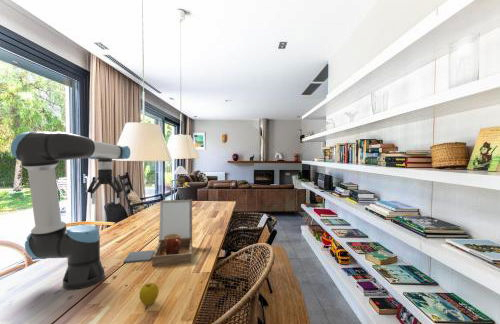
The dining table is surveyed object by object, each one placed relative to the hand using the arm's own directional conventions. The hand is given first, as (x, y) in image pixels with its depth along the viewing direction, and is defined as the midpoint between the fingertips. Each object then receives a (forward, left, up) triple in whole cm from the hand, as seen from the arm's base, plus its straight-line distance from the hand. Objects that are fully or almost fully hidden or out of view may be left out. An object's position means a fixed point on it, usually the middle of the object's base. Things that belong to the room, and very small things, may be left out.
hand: (105, 203), depth 148 cm
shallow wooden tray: (-25, -42, -26) cm, 55 cm away
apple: (-70, -37, -26) cm, 83 cm away
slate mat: (-23, -24, -26) cm, 42 cm away
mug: (-25, -42, -26) cm, 55 cm away
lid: (-9, -42, -10) cm, 44 cm away
